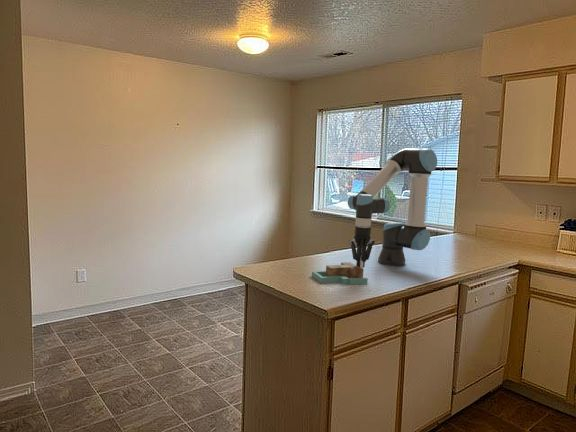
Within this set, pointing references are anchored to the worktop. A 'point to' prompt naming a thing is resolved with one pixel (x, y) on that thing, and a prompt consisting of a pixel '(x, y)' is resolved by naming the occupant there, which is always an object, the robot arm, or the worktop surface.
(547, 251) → the worktop surface
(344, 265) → the t block
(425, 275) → the worktop surface
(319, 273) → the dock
